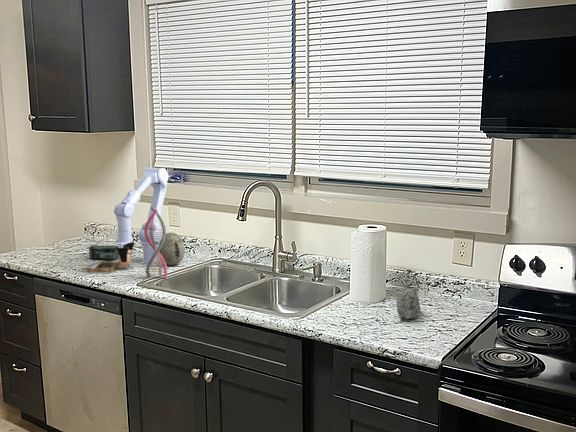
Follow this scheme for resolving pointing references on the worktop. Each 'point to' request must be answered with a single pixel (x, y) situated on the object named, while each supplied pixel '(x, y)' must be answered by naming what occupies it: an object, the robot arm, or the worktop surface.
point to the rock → (408, 304)
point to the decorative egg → (172, 249)
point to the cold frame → (103, 266)
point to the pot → (127, 264)
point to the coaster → (126, 268)
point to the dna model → (150, 220)
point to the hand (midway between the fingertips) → (126, 260)
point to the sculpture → (103, 252)
